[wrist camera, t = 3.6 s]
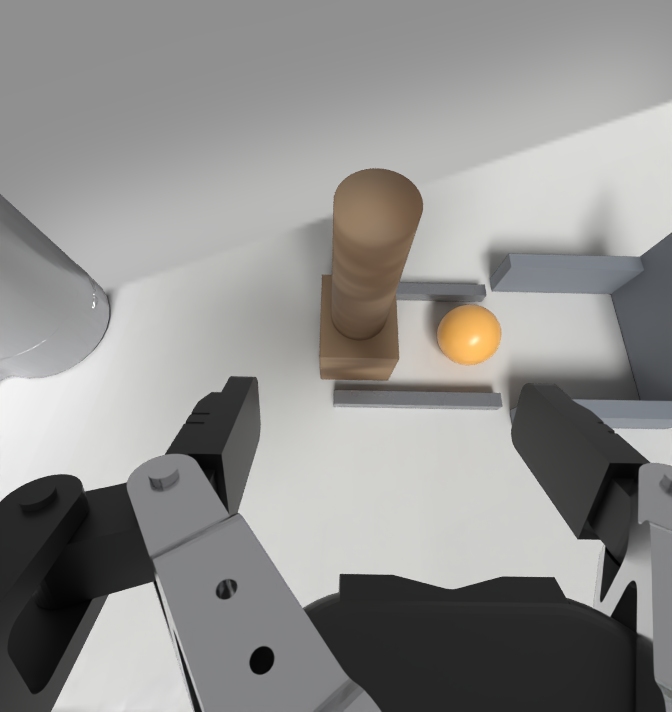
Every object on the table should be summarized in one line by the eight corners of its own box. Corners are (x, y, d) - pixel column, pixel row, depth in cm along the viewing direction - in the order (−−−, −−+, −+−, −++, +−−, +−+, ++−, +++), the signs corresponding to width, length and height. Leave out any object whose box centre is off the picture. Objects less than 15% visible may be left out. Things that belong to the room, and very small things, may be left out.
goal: (512, 426, 27) (583, 400, 19) (490, 278, 31) (541, 210, 24) (664, 429, 27) (793, 404, 20) (621, 281, 31) (713, 215, 24)
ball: (451, 383, 28) (473, 363, 24) (419, 336, 29) (434, 310, 25) (498, 356, 29) (526, 333, 25) (464, 312, 30) (486, 283, 26)
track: (333, 406, 27) (334, 403, 26) (335, 287, 31) (336, 281, 30) (496, 409, 27) (502, 406, 26) (479, 290, 31) (484, 284, 30)
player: (320, 379, 28) (313, 264, 14) (322, 307, 30) (318, 145, 16) (387, 380, 28) (446, 267, 14) (385, 308, 30) (434, 148, 16)
